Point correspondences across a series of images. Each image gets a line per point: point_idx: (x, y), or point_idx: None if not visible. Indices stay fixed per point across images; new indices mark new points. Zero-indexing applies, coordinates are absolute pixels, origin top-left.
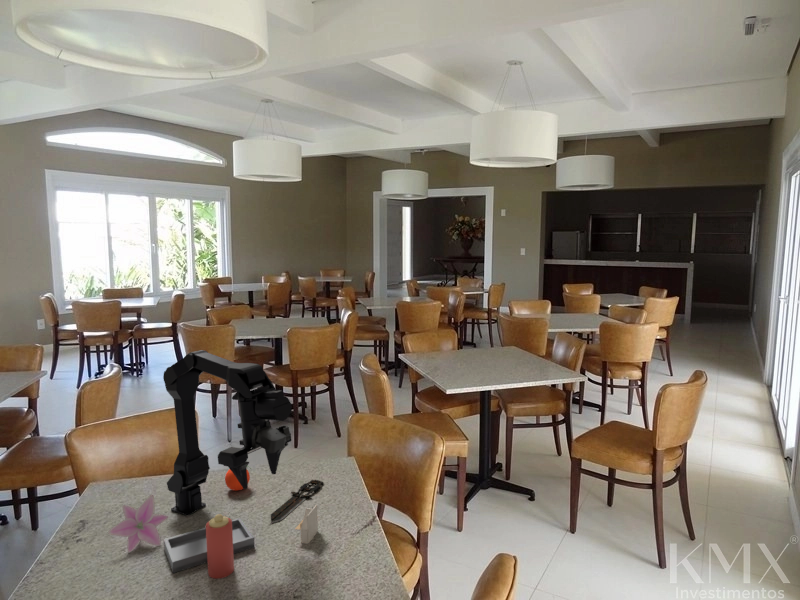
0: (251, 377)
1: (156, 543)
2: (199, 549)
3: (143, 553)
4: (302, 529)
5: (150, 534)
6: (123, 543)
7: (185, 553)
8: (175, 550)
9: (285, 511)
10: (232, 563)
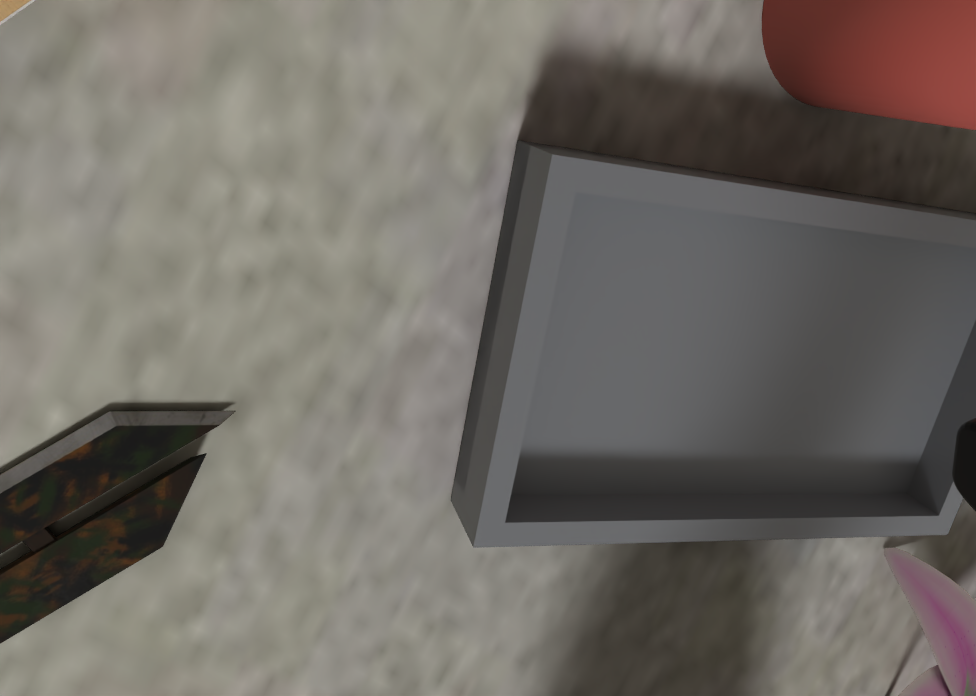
0: None
1: (905, 563)
2: (831, 339)
3: (968, 515)
4: None
5: (948, 624)
6: None
7: (901, 348)
8: (914, 418)
9: (3, 528)
10: None
